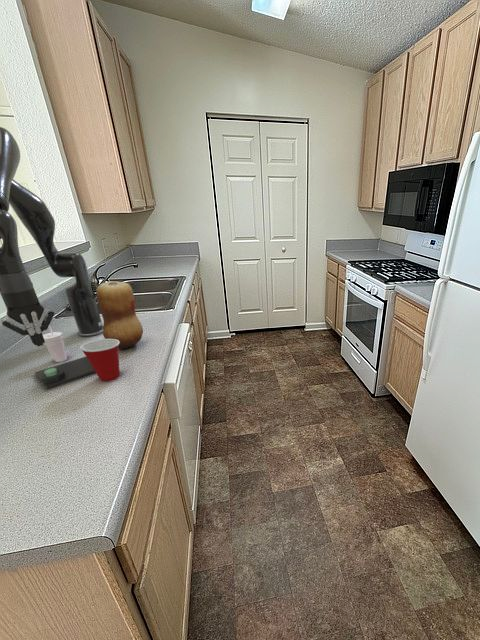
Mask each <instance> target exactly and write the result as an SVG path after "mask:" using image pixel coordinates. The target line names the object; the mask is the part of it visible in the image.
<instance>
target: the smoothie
mask: <svg viewBox="0 0 480 640" xmlns="http://www.w3.org/2000/svg"><path fill="white" fill-rule="evenodd" d="M48 330H49V331H50V332H48V333H45V334H42V335H43V338H44V340H45V343H44V345H45V347H46V348H47V350H48V352H49V354H50V355H51V358H52V359H53V361H54V362H55V363H61V362H65V361H66V360H68V356H67V351H66V347H65V342H64V338H63V337H64V334H63V332H61V331H53V329H52V327H51V323H50V324H49V327H48Z"/></svg>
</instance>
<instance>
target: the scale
mask: <svg viewBox="0 0 480 640" xmlns="http://www.w3.org/2000/svg"><path fill="white" fill-rule="evenodd" d="M51 368H56V369H57V372H58V374H56V375H54V376H50V377H46V375H45V373H44V372H45V371H46V370H48V369H51ZM34 374H35V376H36V377H37V378H38V380H39V381H40V383H41V384H42V385H43V386H44V388H45V389H46V390H48V391H49V390H51V389H54V388H57V387H60V386H62V385H65V384H68V383H71V382H74V381H77V380H80V379H84V378H86V377H90V376H92V375H95V374H96V372H95V371H94V369H93V367H92V365H91V364H90V362H89V360H88V358H87V357H86V356H83V357H79V358H77V359H73V360H69V361H67V362H63V363H60V364H57V365H54V366H50V367H47V368H44V369H40V370H37V371H34Z"/></svg>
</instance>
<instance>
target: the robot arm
mask: <svg viewBox="0 0 480 640" xmlns="http://www.w3.org/2000/svg"><path fill="white" fill-rule="evenodd" d="M20 162H21V151H20V147H19V144H18V143H17V141H16V138H14V136H13V135H12V133H11V132H10V131H9V130H8V129H6V128H5V127H2V126H0V240H2V244H1V246H0V296H1V299H2V301H3V303H4V306H5V307H6V317H5V318H4V319H1V320H0V324H1V325H2V326H4V327H6V328H7V329H9V330H12V331H13V332H15V333H17V334H19V335H21V336H29V338H30V341H31V343H32V344H33V345H34V346H37V347H42V346H44V344H45V340H44V338H43V335H44V334H43V332H44V331H47V330H49V324H50V325H51V322H52V320H53V318H54V316H55V311H53V310H51V309H47V308H45V307H44V306H43V305H42V304H41V303H40V301H39V298H38V296H37V293H36V290H35V288H34V284H33V282H32V280H31V277H30V275H29V274H28V271H27V270H26V268H25V265H24V263H23V259H22V257H21V254H20V247H19V238H18V225H17V221H16V219H15V218H14V217H13V215H12V214H11V213H10V212H9V210H10V207H11V208H12V210H13V212H14V213H15V215H16V217H17V218H18V220H20V222H21V223H22V225H23V227H25V229H26V231H28V233H29V234H30V236H31V237H32V239H33V240H34V242H35V243H36V245H37V246H38V248H39V250H40V251H41V253H42V255H43V257H44V259H45V260H46V262H47V264H48V266H49V267H50V269H51V270H52V272H53V273H54V274H55V275H56V276H57V277H59V278H75V282H74V283H73V284H70V285H68V286H66V287H65V288H64V292H65V295H66V298H67V302H68V303H69V304H68V305H67V304H66V305H67V306H66V305H65V308H66V309H67V310H70V311H71V313H72V315H73V318H74V321H75V324H76V327H77V331H78V334H79V336H80V337H92V336H97V335H101V334H103V326H104V323H103V321H102V318H101V313H100V310H99V307H98V305H97V304H98V303H97V301H96V299H95V298H96V297H95V295H94V292H93V289H92V282H91V278H90V274H89V270H88V266H87V262H86V260H85V258H84V256H83V255H82V253H79V252H74V251H73V252H60V251H59V250H58V249H57V247H56V244H55V242H54V236H55V230H56V221H55V218H54V216H53V214H52V213H51V211H50V209H49V208H48V206H47V204H46V203H45V202H44V201H43V200H42V199H41V198H40V197H39V196H38V195H37V194H35V193H34V192H32V190H31V191H30V189H27V187H25V186H23V185H22V184H20V183H19V182H17V181H16V180H14V178H15V175H16V173H17V170H18V167H19V164H20ZM42 316H44V318H43V320H42V322H41V323H40V320H41V319H42ZM13 320H14V321H15V322H17V323H18V324H20V325H23V327H24V329H23V328H21V327H19V326H17V325H15V324H14V321H13Z"/></svg>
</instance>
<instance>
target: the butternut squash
mask: <svg viewBox="0 0 480 640" xmlns="http://www.w3.org/2000/svg"><path fill="white" fill-rule="evenodd" d="M96 298H97V304H98V305H97V307H98V310H99V312H100V315H101V316H102V319H103V332H102V336H103V339H116V340H119V342H120V343H119V346H118V347H119V348H118V350H125V349H127V348H133V347H135V346H136V344H138V343H139V342H140V341H141V340H142V338H143V334H144V328H143V324H142V323H141V321H140V319H139V318H138V316H137V313H136V300H135V295H134V291H133V288H132V287H131V285H130V284H129V283H127V282H124V281H111V280H109V281H105V282H102V283H100V284H99V285H98V286H97V288H96Z"/></svg>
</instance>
